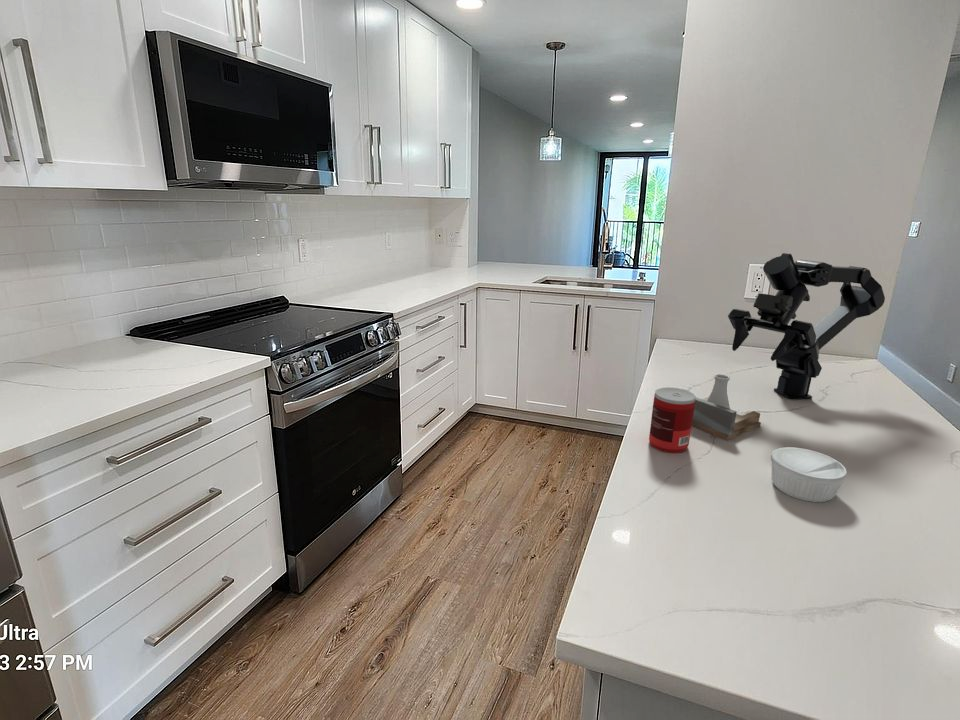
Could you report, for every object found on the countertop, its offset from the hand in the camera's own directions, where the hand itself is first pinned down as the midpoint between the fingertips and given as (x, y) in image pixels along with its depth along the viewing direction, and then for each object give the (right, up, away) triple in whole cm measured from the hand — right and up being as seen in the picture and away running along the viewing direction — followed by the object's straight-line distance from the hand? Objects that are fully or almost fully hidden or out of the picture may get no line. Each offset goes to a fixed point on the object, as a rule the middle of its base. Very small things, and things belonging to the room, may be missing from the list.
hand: (751, 354), depth 123 cm
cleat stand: (-10, -15, -4) cm, 19 cm away
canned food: (-25, -19, -15) cm, 35 cm away
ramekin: (-7, -24, -31) cm, 40 cm away
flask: (-11, -15, -5) cm, 19 cm away
